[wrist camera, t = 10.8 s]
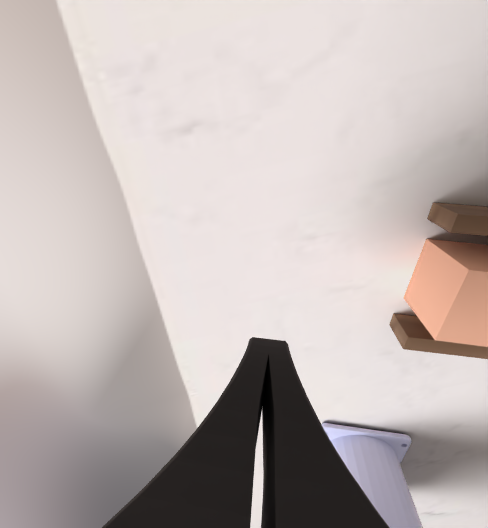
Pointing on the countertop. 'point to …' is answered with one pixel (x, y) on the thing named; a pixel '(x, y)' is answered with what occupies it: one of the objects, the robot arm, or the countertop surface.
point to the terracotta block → (452, 291)
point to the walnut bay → (411, 327)
